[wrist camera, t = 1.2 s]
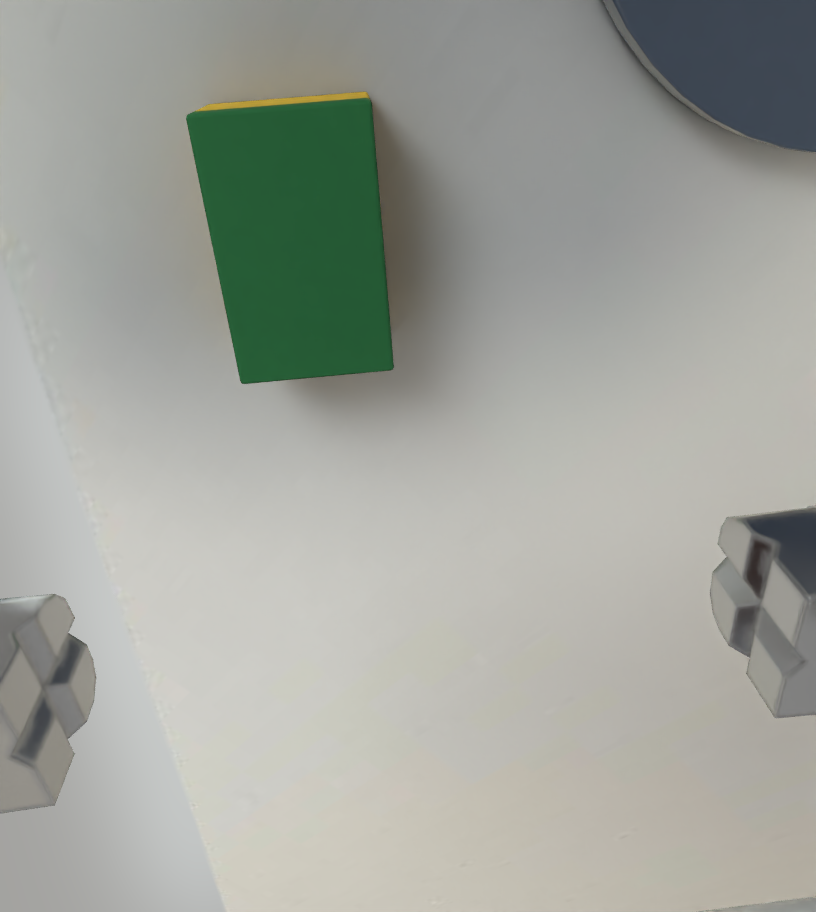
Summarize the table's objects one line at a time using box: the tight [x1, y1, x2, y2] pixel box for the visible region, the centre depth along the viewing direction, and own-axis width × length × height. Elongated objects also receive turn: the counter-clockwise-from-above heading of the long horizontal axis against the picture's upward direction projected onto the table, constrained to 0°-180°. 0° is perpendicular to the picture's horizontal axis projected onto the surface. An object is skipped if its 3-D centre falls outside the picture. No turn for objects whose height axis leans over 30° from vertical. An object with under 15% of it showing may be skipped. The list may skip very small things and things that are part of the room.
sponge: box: [186, 92, 394, 384], centre depth 20 cm, size 7×4×3 cm, turn 4°
